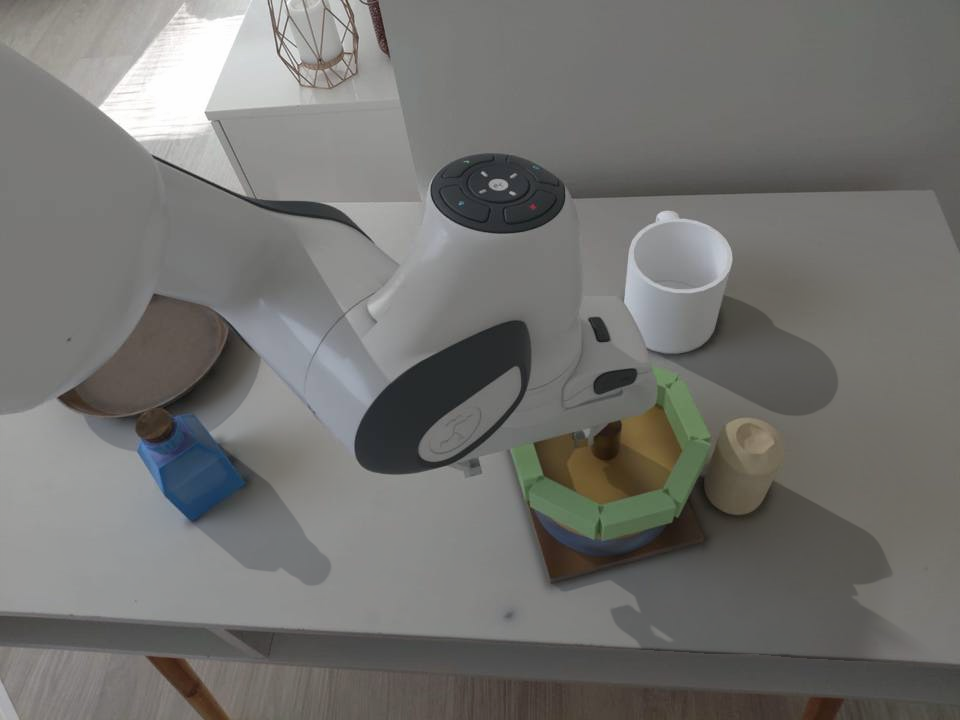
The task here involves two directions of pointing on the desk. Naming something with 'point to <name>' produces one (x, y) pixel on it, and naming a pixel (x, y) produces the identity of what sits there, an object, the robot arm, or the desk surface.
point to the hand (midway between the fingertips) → (526, 454)
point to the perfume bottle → (185, 461)
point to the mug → (676, 282)
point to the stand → (611, 493)
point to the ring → (634, 509)
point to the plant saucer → (153, 361)
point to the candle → (743, 465)
